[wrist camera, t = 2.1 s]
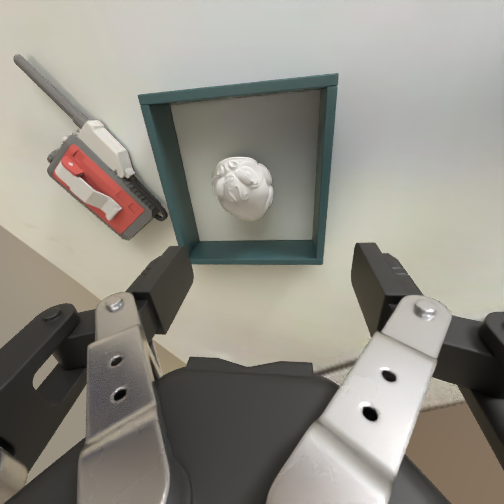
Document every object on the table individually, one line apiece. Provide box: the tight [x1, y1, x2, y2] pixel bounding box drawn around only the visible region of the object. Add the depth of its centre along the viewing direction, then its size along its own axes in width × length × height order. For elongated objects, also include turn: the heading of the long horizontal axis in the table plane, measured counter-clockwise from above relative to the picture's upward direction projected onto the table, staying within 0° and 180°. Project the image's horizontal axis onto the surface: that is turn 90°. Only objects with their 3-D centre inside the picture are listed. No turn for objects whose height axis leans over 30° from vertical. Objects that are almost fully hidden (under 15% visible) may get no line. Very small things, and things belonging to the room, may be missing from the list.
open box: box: [138, 73, 338, 265], centre depth 26 cm, size 18×17×4 cm
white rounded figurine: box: [212, 157, 274, 221], centre depth 25 cm, size 6×7×7 cm
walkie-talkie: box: [14, 55, 168, 241], centre depth 27 cm, size 9×4×20 cm
